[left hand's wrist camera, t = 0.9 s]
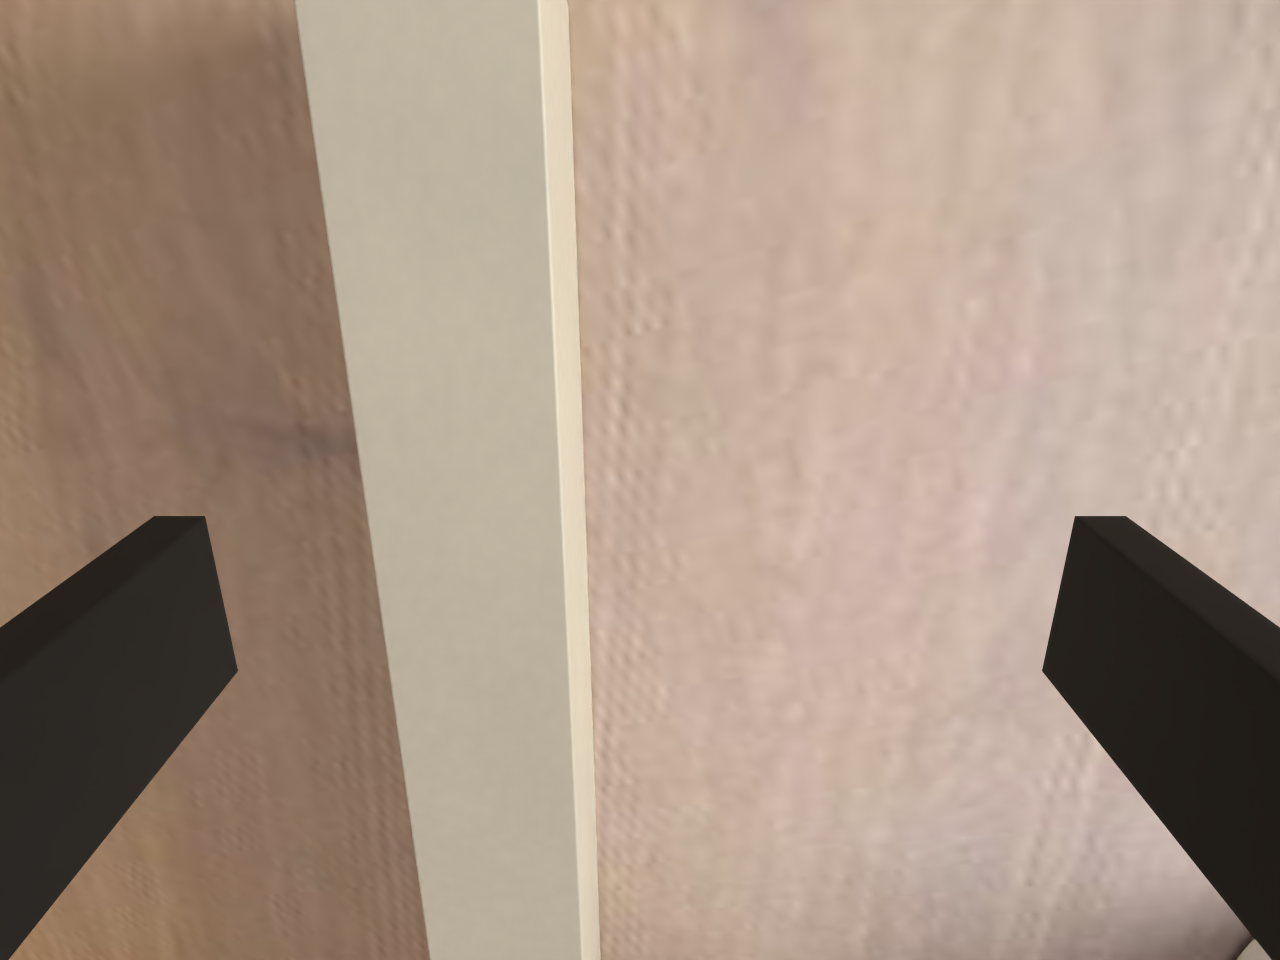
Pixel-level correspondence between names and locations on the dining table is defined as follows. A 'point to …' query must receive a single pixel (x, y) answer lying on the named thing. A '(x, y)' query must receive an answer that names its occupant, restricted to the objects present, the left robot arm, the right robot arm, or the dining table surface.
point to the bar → (469, 442)
